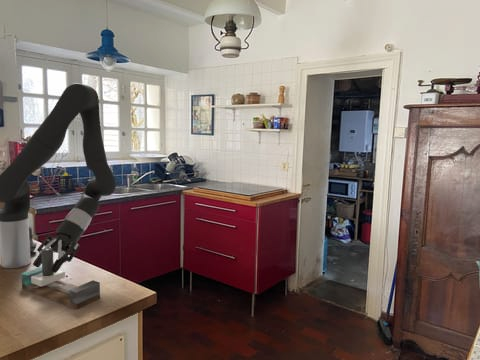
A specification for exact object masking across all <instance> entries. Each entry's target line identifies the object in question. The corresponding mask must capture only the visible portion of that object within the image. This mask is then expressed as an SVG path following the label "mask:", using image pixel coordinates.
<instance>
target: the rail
mask: <svg viewBox="0 0 480 360" xmlns="http://www.w3.org/2000/svg"><path fill="white" fill-rule="evenodd" d="M41 273H42V266H40V267H35V268H34V269H30V270H28V271H25V272H22V273H21V274H20V275H21V276H20V277H21V288H22V289H23V290H25V291H27V292H30V293H32V294H36V295H38V296H40V297H43V298H46V299H49V300H51V301H55V302H57V303H60V304H62V305H65V306H68V307H70V308H73V309H76V310H78V309H80V308H83V307H85V306H88V305H89V304H91V303H93V302H95V301H97V300H99V299H101V288H100V287H101V285H100V281H97V280H90V281H88V282H85V283H83V284H80V285H77V284H76V285H75V284H73V283H69V282H66V281H63V280H62V279H60V280H57V281H55V282H52V283H50V284H47V285H44V286H42V287H41V286H38V285H36V284H33V283H31V277H32V276H35V275H38V274H41Z"/></svg>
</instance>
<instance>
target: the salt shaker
mask: <svg viewBox="0 0 480 360" xmlns="http://www.w3.org/2000/svg"><path fill="white" fill-rule="evenodd" d="M33 237H34V235H33V230H32V227H30V226H29V240H30V257H31V256H35V255H36V254H37V251H35V250H36V249H37V243H36V242H35V243H34V241H33Z"/></svg>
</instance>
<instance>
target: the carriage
mask: <svg viewBox="0 0 480 360" xmlns="http://www.w3.org/2000/svg"><path fill="white" fill-rule="evenodd" d="M44 248H45V247H44ZM44 248H42V250H41V255H42V264H41V267H42V273H41V274H38V275H35V276H32V277H31V283H33V284H36V285H38V286H41V287H42V286H44V285H47V284H50V283H52V282H55V281H57V280H63V279H64V278H66V271H65V270H61V269H59V270H58V271H57V272H56V273H53V272H52V271H50V268H51V267H52V265H53V264H54V262H55V261H54V253H53V248H51V247H50V248H45V249H44Z"/></svg>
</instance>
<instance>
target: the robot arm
mask: <svg viewBox="0 0 480 360" xmlns="http://www.w3.org/2000/svg"><path fill="white" fill-rule="evenodd" d="M99 98H100V97H99V94H98V92H97V91H96V90H95V88H94V87H92V86H90V85H87V84H84V83H79V82H75V83H72V84H69V85H68V86H67V87H65V89H64V90H63V91H62V94H61V95H60V97H59V99H58V100H57V102H56V103H55V105H54V107H53V109H52V110H51V111H50V113H49V114H48V115H47V116H46V118H45V119H44V120H43V121H42V123H41V124H40V125H39V127H38V128H37V129H36V130H35V131H34V132H33V134H32V135H31V137H30V138H29V139H28V140H27V142H26V144H25V145H24V146H23V147H22V149H21V150H20V152H18V154H17V155H16V157H14V159H13V160H12V161H11V163H10V164H9V165H8V166H7V167H6V168H5V169H4V170H3V171H2V173H1V174H0V203H4V205H3V207H2V208H1V209H0V265H1V268H4V269H16V268H17V269H18V268H23V267H25V266H27V265H29V264H31V262H32V260H31V256H30V240H29V227H30V226H29V211H30V209H31V187H30V183H29V181H28V178H29V177H30V176H32V175H33V173H34V172H36V171H37V170H39V169H40V168H41V167H43V166H44V165H46V163H48V162H49V161H50V160H51V159H52V158H53V157H54V156H55V154H56V153H57V152H58V151H59V149H60V148H61V147H62V145H63V143H64V140H65V138H66V135H67V131H68V129H69V126H70V124H71V123H72V122H73V120H74V119H76V117H77V116H78V115H79V114H80V117H81V121H82V127H83V129H82V130H83V131H82V133H83V135H82V152H83V156H84V161H85V164H86V168H87V169H88V171H91V172H92V173H93V175H94V177H93V178H91V179H90V180H89V181H88V183H87V184H86V185H85V187H84V189H83V192H82V193H81V196H80V198H79V200H78V202H76V204H75V206H73V208H72V209H71V210H70V212H68V214H66V216H65V218H64V219H63V220H62V222H61V223H60V225H59V226H58V227H57V228H56V231H55V232H56V235H55V236H54V237H53V236H51V235H50V234H48V235H47V236H46V237H45V238H44V240H43V241H42V242H41V243H40V245H39V246H38V248H36V252H38V253H39V254H38V255H37V257H36V258H35V259H34V261H33V263H32V265H33V267H35V268H39V267H41V266H42V255H41V250H42V249H45V248H53V254H55V253H56V254H58V255H57V256H58V257H57V259H56V260H55V261H53V262H54V264H53V265H52V267H51V268H50V271H52V272H53V273H56V272H57V271H58V270H60V268H61V267H62V266H63V264H65V263H66V262H67V263H71V261H72V260H73V259H74V257H75V255H76V253H77V252H78V250H79V249H80V247H81V246H80V244H79V243H78V241H79V240H80V239H81V238H82V235H83V234H84V232H85V231H86V230H87V229H88V226H90V224H91V221H92V219H93V218H94V217H95V215H96V213H97V212H98V211H99V209H100V202H99V201H100V199H101V198H102V197H107V196H108V197H109V196H111V195H113V194H114V193H115V191H116V189H117V188H116V186H117V183H116V178H115V176H114V174H113V172H112V170H111V167H110V166H109V163H108V159H107V155H106V149H105V146H104V141H103V134H102V127H101V117H100V116H101V115H100V99H99Z"/></svg>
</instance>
